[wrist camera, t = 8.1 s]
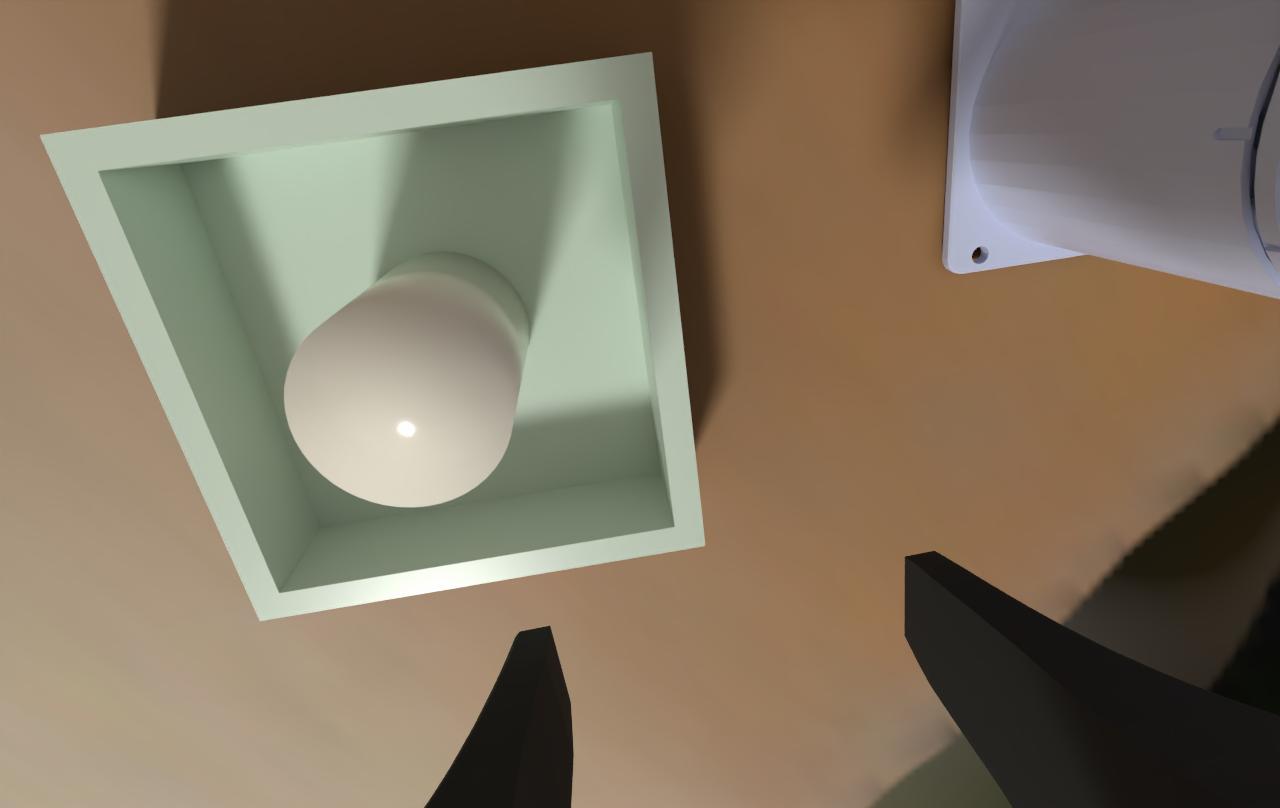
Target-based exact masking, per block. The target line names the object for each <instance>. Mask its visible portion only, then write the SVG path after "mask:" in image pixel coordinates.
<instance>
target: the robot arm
mask: <svg viewBox="0 0 1280 808" xmlns="http://www.w3.org/2000/svg"><path fill="white" fill-rule="evenodd" d="M978 247H980V248H981V254H980V257H979V258H978V259H977V260H975V261H972V254H973V252H974V250H975V249H976V248H978ZM1087 254H1089V255H1093V256H1097V257H1101V258H1106V259H1110V260H1114V261H1119V262H1123V263H1127V264H1131V265H1136V266H1140V267H1144V268H1149V269H1153V270H1157V271H1162V272H1166V273H1170V274H1174V275H1179V276H1183V277H1187V278H1192V279H1196V280H1200V281H1204V282H1209V283H1213V284H1217V285H1222V286H1226V287H1230V288H1234V289H1239V290H1243V291H1247V292H1252V293H1256V294H1260V295H1264V296H1269V297H1273V298H1277V299H1280V0H956V3H955V22H954V41H953V60H952V80H951V99H950V118H949V138H948V157H947V176H946V196H945V215H944V234H943V254H942V260H943V265H944V266H945V268H946V269H948V270H949V271H951V272H954V273H958V274H964V273H970V272H977V271H983V270H990V269H996V268H1003V267H1009V266H1016V265H1022V264H1029V263H1035V262H1042V261H1048V260H1055V259H1061V258H1068V257H1074V256H1081V255H1087ZM905 637H906V639H907V641H908V643H909V645H910V647H911V649H912V651H913V653H914V655H915V657H916V659H917V661H918V663H919V665H920V667H921V669H922V671H923V673H924V674H925V676H926V678H927V680H928V682H929V684H930V685H931V687H932V688H933V690H934V691H935V693H936V694H937V696H938V697H939V699H940V700H941V702H942V703H943V705H944V706H945V708H946V709H947V711H948V712H949V714H950V715H951V717H952V718H953V720H954V721H955V722H956V724H957V725H958V727H959V728H960V730H961V731H962V733H963V734H964V736H965V737H966V738H967V740H968V741H969V743H970V744H971V746H972V747H973V749H974V750H975V752H976V753H977V754H978V756H979V757H980V759H981V760H982V762H983V763H984V765H985V766H986V768H987V769H988V771H989V772H990V773H991V775H992V777H993V778H994V779H995V781H996V782H997V784H998V785H999V787H1000V788H1001V790H1002V791H1003V793H1004V795H1005V796H1006V798H1007V799H1008V801H1009V803H1010V804H1011V806H1012V807H1013V808H1280V716H1278V715H1275V714H1272V713H1269V712H1266V711H1263V710H1260V709H1257V708H1254V707H1251V706H1248V705H1246V704H1243V703H1240V702H1237V701H1234V700H1231V699H1228V698H1226V697H1223V696H1221V695H1218V694H1215V693H1213V692H1210V691H1207V690H1205V689H1202V688H1199V687H1196V686H1194V685H1191V684H1189V683H1186V682H1184V681H1181V680H1179V679H1176V678H1174V677H1171V676H1169V675H1166V674H1164V673H1162V672H1159V671H1156V670H1155V669H1152V668H1150V667H1148V666H1145V665H1143V664H1141V663H1139V662H1136V661H1134V660H1132V659H1130V658H1128V657H1125V656H1123V655H1121V654H1118V653H1116V652H1114V651H1112V650H1110V649H1108V648H1106V647H1104V646H1102V645H1099V644H1098V643H1096V642H1094V641H1092V640H1090V639H1088V638H1086V637H1084V636H1082V635H1080V634H1078V633H1076V632H1074V631H1072V630H1070V629H1068V628H1066V627H1065V626H1063V625H1061V624H1059V623H1057V622H1055V621H1053V620H1051V619H1050V618H1048V617H1046V616H1044V615H1042V614H1041V613H1039V612H1037V611H1035V610H1033V609H1032V608H1030V607H1028V606H1026V605H1025V604H1023V603H1021V602H1019V601H1018V600H1016V599H1014V598H1013V597H1011V596H1009V595H1007V594H1006V593H1004V592H1002V591H1001V590H999V589H997V588H996V587H994V586H992V585H991V584H989V583H987V582H986V581H984V580H982V579H981V578H979V577H977V576H976V575H974V574H973V573H971V572H969V571H968V570H966V569H964V568H963V567H961V566H959V565H958V564H956V563H954V562H953V561H951V560H949V559H948V558H946V557H944V556H943V555H941V554H939V553H937V552H936V551H932V552H926V553H921V554H916V555H911V556H906V557H905ZM573 755H574V754H573V734H572V717H571V702H570V698H569V694H568V691H567V687H566V683H565V679H564V676H563V672H562V668H561V665H560V661H559V657H558V653H557V650H556V646H555V642H554V639H553V635H552V631H551V628H550V626H547V627H542V628H536V629H531V630H526V631H521V632H519V633H518V635H517V636H516V637H515V639H514V642H513V644H512V647H511V649H510V652H509V654H508V656H507V659H506V661H505V663H504V665H503V668H502V670H501V672H500V674H499V677H498V679H497V681H496V683H495V685H494V687H493V689H492V691H491V693H490V695H489V697H488V699H487V701H486V703H485V705H484V707H483V709H482V711H481V713H480V715H479V717H478V719H477V721H476V723H475V725H474V727H473V729H472V730H471V732H470V734H469V736H468V737H467V739H466V741H465V743H464V744H463V746H462V748H461V750H460V751H459V753H458V755H457V757H456V758H455V760H454V762H453V764H452V765H451V767H450V769H449V770H448V772H447V774H446V775H445V777H444V778H443V780H442V782H441V783H440V785H439V786H438V788H437V789H436V791H435V793H434V794H433V796H432V797H431V799H430V800H429V802H428V803H427V804H426V806H425V807H424V808H571V796H572V776H573Z"/></svg>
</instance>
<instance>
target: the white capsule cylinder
mask: <svg viewBox="0 0 1280 808" xmlns="http://www.w3.org/2000/svg"><path fill="white" fill-rule="evenodd" d="M528 343H529V323H528V317H527V313H526V310H525V307H524V305H523V302H522V300H521V298H520V297H519V295H518V293H517V291H516V290H515V289H514V287H513V286H512V285H511V283H510V282H509V281H508V280H507V279H506V278H505V277H504V276H503V275H502V274H501V273H500V272H498V271H497V270H496V269H495V268H493V267H491V266H490V265H488V264H487V263H485V262H483V261H481V260H479V259H477V258H474V257H471V256H468V255H465V254H460V253H455V252H430V253H425V254H421V255H418V256H415V257H412V258H410V259H408V260H406V261H404V262H402V263H401V264H399V265H398V266H396V267H395V268H394V269H392V270H391V271H390V272H388V273H387V274H386V275H384V276H383V277H382V278H381V279H379V280H378V281H377V282H375V283H374V284H373V285H371V286H370V287H369V288H368V289H366V290H365V291H364V292H362V293H361V294H360V295H358V296H357V297H356V298H355V299H353V300H352V301H351V302H349V303H348V304H347V305H345V306H344V307H343V308H342V309H340V310H339V311H338V312H336V313H335V314H334V315H332V316H331V317H330V318H329V319H327V320H326V321H325V322H323V323H322V324H321V325H320V326H318V327H317V328H316V329H315V330H314V331H313V332H312V333H311V334H310V335H308V336H307V337H306V339H305V340H304V341H303V343H302V344H301V345H300V346H299V348H298V349H297V351H296V353H295V355H294V357H293V358H292V360H291V363H290V366H289V369H288V371H287V375H286V380H285V386H284V405H285V413H286V417H287V421H288V425H289V428H290V430H291V433H292V435H293V437H294V440H295V442H296V443H297V445H298V447H299V448H300V450H301V452H302V453H303V454H304V456H305V457H306V458H307V459H308V461H309V462H310V463H311V464H312V465H313V466H314V467H315V468H316V469H317V470H318V471H319V472H320V473H321V474H322V475H323V476H324V477H325V478H327V479H328V480H329V481H330V482H332V483H333V484H335V485H336V486H338V487H340V488H341V489H343V490H344V491H346V492H348V493H350V494H352V495H355V496H357V497H359V498H362V499H365V500H367V501H370V502H374V503H378V504H382V505H387V506H394V507H424V506H431V505H436V504H441V503H444V502H447V501H450V500H453V499H455V498H457V497H459V496H461V495H464V494H466V493H467V492H469V491H470V490H472V489H473V488H475V487H477V486H478V485H479V484H480V483H481V482H483V481H484V480H485V479H486V478H487V477H488V476H489V475H490V474H491V473H492V471H493V470H494V469H495V468H496V466H497V465H498V463H499V462H500V461H501V459H502V457H503V455H504V453H505V451H506V449H507V447H508V443H509V440H510V437H511V433H512V428H513V423H514V417H515V412H516V407H517V402H518V396H519V391H520V386H521V381H522V376H523V370H524V365H525V360H526V355H527V349H528Z"/></svg>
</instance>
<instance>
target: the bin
mask: <svg viewBox="0 0 1280 808" xmlns="http://www.w3.org/2000/svg"><path fill="white" fill-rule="evenodd" d="M40 137H41V140H42V142H43V144H44V146H45V148H46V151H47V153H48V155H49V157H50V159H51V162H52V164H53V166H54V168H55V170H56V173H57V175H58V177H59V179H60V182H61V184H62V186H63V188H64V190H65V193H66V195H67V197H68V199H69V201H70V204H71V206H72V208H73V210H74V212H75V215H76V217H77V219H78V221H79V223H80V226H81V228H82V230H83V232H84V234H85V237H86V239H87V241H88V243H89V245H90V248H91V250H92V252H93V254H94V256H95V259H96V261H97V263H98V265H99V268H100V270H101V272H102V274H103V276H104V279H105V281H106V283H107V285H108V287H109V290H110V292H111V294H112V296H113V298H114V301H115V303H116V305H117V307H118V309H119V312H120V314H121V316H122V318H123V320H124V323H125V325H126V327H127V329H128V331H129V334H130V336H131V338H132V340H133V342H134V345H135V347H136V349H137V351H138V353H139V356H140V358H141V360H142V362H143V365H144V367H145V369H146V371H147V373H148V376H149V378H150V380H151V382H152V384H153V387H154V389H155V391H156V393H157V395H158V398H159V400H160V402H161V404H162V406H163V409H164V411H165V413H166V415H167V417H168V420H169V422H170V424H171V426H172V428H173V431H174V433H175V435H176V437H177V439H178V442H179V444H180V446H181V448H182V450H183V453H184V455H185V457H186V459H187V462H188V464H189V466H190V468H191V470H192V473H193V475H194V477H195V479H196V481H197V484H198V486H199V488H200V490H201V492H202V495H203V497H204V499H205V501H206V503H207V506H208V508H209V510H210V512H211V514H212V517H213V519H214V521H215V523H216V525H217V528H218V530H219V532H220V534H221V536H222V539H223V541H224V543H225V545H226V547H227V550H228V552H229V554H230V556H231V559H232V561H233V563H234V565H235V567H236V570H237V572H238V574H239V576H240V578H241V581H242V583H243V585H244V587H245V589H246V592H247V594H248V596H249V598H250V600H251V603H252V605H253V607H254V609H255V611H256V614H257V616H258V618H259V620H260V621H264V620H270V619H275V618H281V617H287V616H293V615H299V614H305V613H311V612H317V611H323V610H329V609H335V608H341V607H346V606H352V605H358V604H364V603H370V602H376V601H382V600H388V599H394V598H400V597H406V596H412V595H417V594H423V593H429V592H435V591H441V590H447V589H453V588H459V587H465V586H471V585H477V584H483V583H489V582H494V581H500V580H506V579H512V578H518V577H524V576H530V575H536V574H542V573H548V572H554V571H560V570H565V569H571V568H577V567H583V566H589V565H595V564H601V563H607V562H613V561H619V560H625V559H631V558H636V557H642V556H648V555H654V554H660V553H666V552H672V551H678V550H684V549H690V548H696V547H702V546H705V538H704V529H703V520H702V511H701V501H700V492H699V483H698V474H697V464H696V455H695V446H694V437H693V427H692V418H691V409H690V400H689V390H688V381H687V372H686V363H685V353H684V344H683V335H682V326H681V316H680V307H679V298H678V289H677V279H676V270H675V261H674V252H673V242H672V233H671V224H670V215H669V205H668V196H667V187H666V178H665V168H664V159H663V150H662V141H661V131H660V122H659V113H658V104H657V94H656V85H655V76H654V67H653V57H652V52H647V53H640V54H632V55H625V56H618V57H610V58H603V59H596V60H588V61H581V62H573V63H566V64H559V65H551V66H544V67H537V68H529V69H522V70H515V71H507V72H500V73H493V74H485V75H478V76H471V77H463V78H456V79H449V80H441V81H434V82H427V83H419V84H412V85H405V86H397V87H390V88H383V89H375V90H368V91H361V92H353V93H346V94H339V95H331V96H324V97H317V98H309V99H302V100H295V101H287V102H280V103H273V104H265V105H258V106H251V107H243V108H236V109H229V110H221V111H214V112H207V113H199V114H192V115H184V116H177V117H170V118H162V119H155V120H148V121H140V122H133V123H126V124H118V125H111V126H104V127H96V128H89V129H82V130H74V131H67V132H60V133H52V134H45V135H40ZM430 252H455V253H460V254H465V255H468V256H471V257H474V258H477V259H479V260H481V261H483V262H485V263H487V264H488V265H490V266H491V267H493V268H495V269H496V270H497V271H498V272H500V273H501V274H502V275H503V276H504V277H505V278H506V279H507V280H508V281H509V282H510V283H511V285H512V286H513V287H514V289H515V290H516V291H517V293H518V295H519V297H520V298H521V300H522V302H523V305H524V307H525V310H526V313H527V317H528V323H529V343H528V349H527V355H526V360H525V365H524V370H523V376H522V381H521V386H520V391H519V396H518V402H517V407H516V412H515V417H514V423H513V428H512V433H511V437H510V440H509V443H508V447H507V449H506V451H505V453H504V455H503V457H502V459H501V461H500V462H499V463H498V465H497V466H496V468H495V469H494V470H493V471H492V473H491V474H490V475H489V476H488V477H487V478H486V479H485V480H484V481H483V482H481V483H480V484H479V485H478V486H477V487H475V488H473V489H472V490H470V491H469V492H467V493H466V494H464V495H461V496H459V497H457V498H455V499H453V500H450V501H447V502H444V503H441V504H436V505H431V506H424V507H394V506H387V505H382V504H378V503H374V502H370V501H367V500H365V499H362V498H359V497H357V496H355V495H352V494H350V493H348V492H346V491H344V490H343V489H341V488H340V487H338V486H336V485H335V484H333V483H332V482H330V481H329V480H328V479H327V478H325V477H324V476H323V475H322V474H321V473H320V472H319V471H318V470H317V469H316V468H315V467H314V466H313V465H312V464H311V463H310V462H309V461H308V459H307V458H306V457H305V456H304V454H303V453H302V452H301V450H300V448H299V447H298V445H297V443H296V442H295V440H294V437H293V435H292V433H291V430H290V428H289V425H288V421H287V417H286V413H285V405H284V386H285V380H286V375H287V371H288V369H289V366H290V363H291V360H292V358H293V357H294V355H295V353H296V351H297V349H298V348H299V346H300V345H301V344H302V343H303V341H304V340H305V339H306V337H307V336H308V335H310V334H311V333H312V332H313V331H314V330H315V329H316V328H317V327H318V326H320V325H321V324H322V323H323V322H325V321H326V320H327V319H329V318H330V317H331V316H332V315H334V314H335V313H336V312H338V311H339V310H340V309H342V308H343V307H344V306H345V305H347V304H348V303H349V302H351V301H352V300H353V299H355V298H356V297H357V296H358V295H360V294H361V293H362V292H364V291H365V290H366V289H368V288H369V287H370V286H371V285H373V284H374V283H375V282H377V281H378V280H379V279H381V278H382V277H383V276H384V275H386V274H387V273H388V272H390V271H391V270H392V269H394V268H395V267H396V266H398V265H399V264H401V263H402V262H404V261H406V260H408V259H410V258H412V257H415V256H418V255H421V254H425V253H430Z"/></svg>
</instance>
